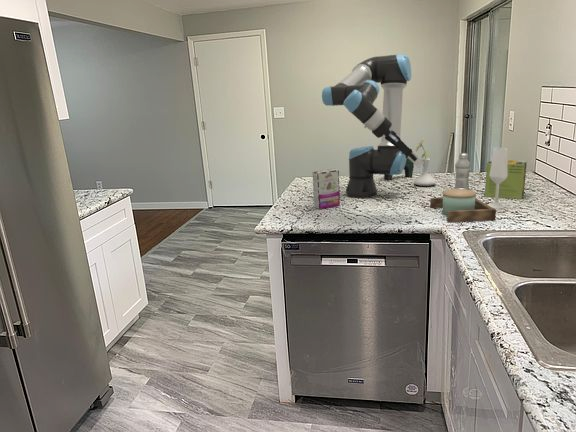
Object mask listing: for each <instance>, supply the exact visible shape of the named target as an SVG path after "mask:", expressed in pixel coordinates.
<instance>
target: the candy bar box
mask: <svg viewBox="0 0 576 432" xmlns="http://www.w3.org/2000/svg"><path fill="white" fill-rule="evenodd" d="M312 189H313V207H314V209H316V210H317V209H318V210H325V209H329V208H335V207H340V206H341V199H340V198H341V197H340V196H341V194H340V190H341V189H340V170H339V169H336V168H330V169H324V170H323V169H322V170H318V171H312Z"/></svg>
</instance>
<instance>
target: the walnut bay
mask: <svg viewBox="0 0 576 432" xmlns="http://www.w3.org/2000/svg"><path fill="white" fill-rule="evenodd" d="M429 204H430V205H429V206H430V207H429V208H431V209H439V208H441V209H443V197H430V201H429ZM488 205H489V204H487V203H485V202H483V201H481V200H480V199H478V198H477V197H476V198H475V210H457V211H447V216H446V222H447V223H459V222H462V223H463V222H464V223H465V222H478V221H479V222H481V221H482V222H483V221H484V222H485V221H496V218H497V217H496V216H497V209H496V208H492V207H490V206H488Z"/></svg>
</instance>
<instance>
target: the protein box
mask: <svg viewBox="0 0 576 432" xmlns="http://www.w3.org/2000/svg"><path fill="white" fill-rule="evenodd" d="M491 163H492V159H491V160H489V161H488V162H487V163H486V171H485V172H486V174H485V175H486V176H485V187H484V197H485V198H486V197H487V198H495V193H496V183H494V182H493V181H492V180H491V178H490V176H489V175H490V169H491ZM527 163H528V161H527V160H508V159H507V174H508V176H507V178H506V179H505V180H504V181H503V182H502V183H500V184H499V194H498V199H499V198H501V199H502V198H503V199H515V200H517V199H518V200H522V199H523V198H524V195H525V185H526V177H527V176H526V175H527V166H528V165H527Z"/></svg>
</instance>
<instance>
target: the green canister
mask: <svg viewBox="0 0 576 432" xmlns="http://www.w3.org/2000/svg"><path fill="white" fill-rule="evenodd" d="M476 196H477V192H476V191H475V190H472V189H469V190H466V189H454V188H451V189H445V190H443V191H442V198H443V208H441V209H442V212H441V213H442V215H443V216H446V217H447V211H457V210H475V198H476V199H477V197H476Z"/></svg>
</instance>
